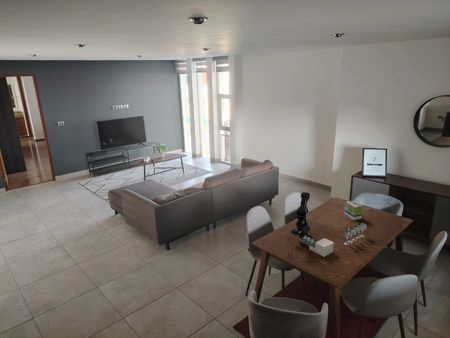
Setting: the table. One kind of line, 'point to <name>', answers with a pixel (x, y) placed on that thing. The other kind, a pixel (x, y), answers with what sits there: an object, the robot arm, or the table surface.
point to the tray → (307, 241)
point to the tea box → (353, 210)
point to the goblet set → (354, 231)
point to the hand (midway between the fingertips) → (300, 238)
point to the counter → (323, 247)
